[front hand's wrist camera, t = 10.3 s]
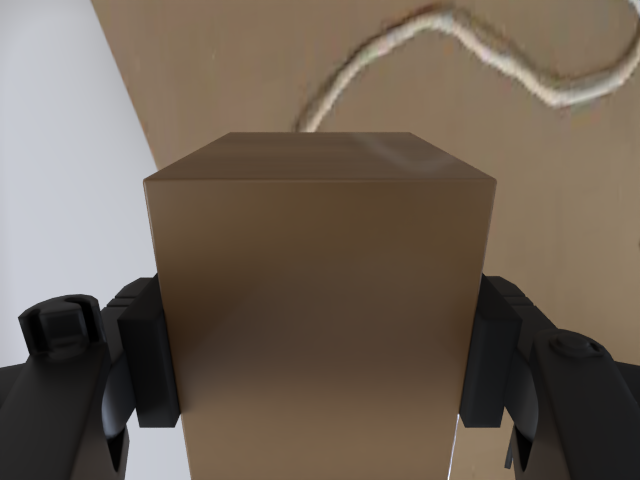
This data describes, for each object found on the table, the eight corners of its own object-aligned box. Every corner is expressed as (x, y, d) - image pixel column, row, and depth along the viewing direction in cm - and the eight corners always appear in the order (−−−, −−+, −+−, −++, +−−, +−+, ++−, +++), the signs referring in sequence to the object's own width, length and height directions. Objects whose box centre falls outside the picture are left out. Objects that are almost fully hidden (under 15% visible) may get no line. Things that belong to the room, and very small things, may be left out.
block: (395, 330, 17) (446, 498, 10) (244, 330, 17) (193, 498, 10) (411, 132, 14) (498, 178, 7) (228, 132, 14) (140, 178, 7)
